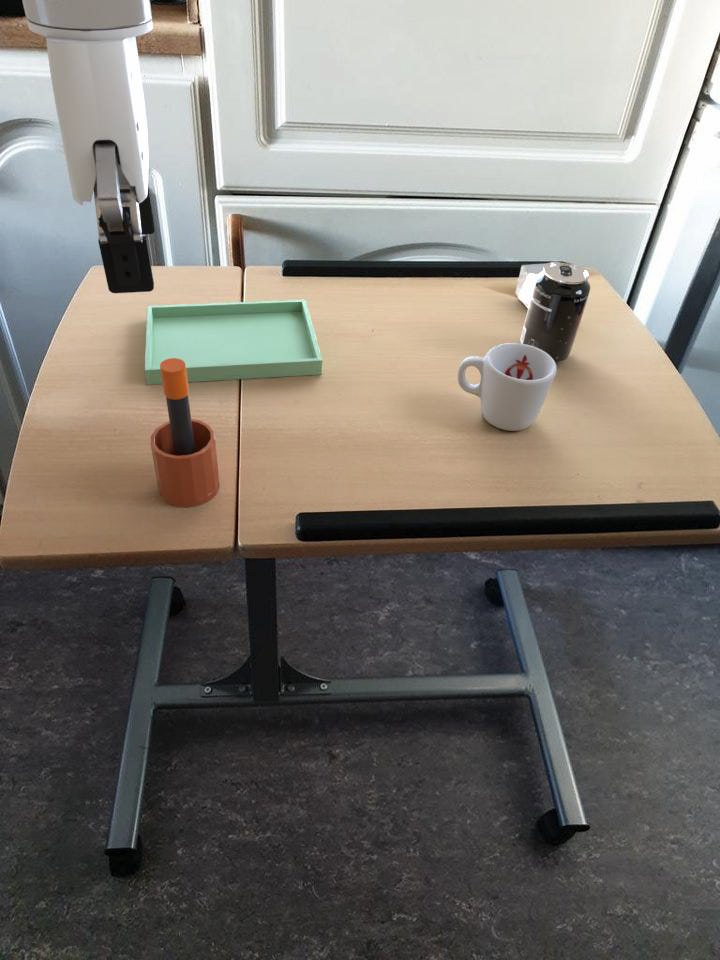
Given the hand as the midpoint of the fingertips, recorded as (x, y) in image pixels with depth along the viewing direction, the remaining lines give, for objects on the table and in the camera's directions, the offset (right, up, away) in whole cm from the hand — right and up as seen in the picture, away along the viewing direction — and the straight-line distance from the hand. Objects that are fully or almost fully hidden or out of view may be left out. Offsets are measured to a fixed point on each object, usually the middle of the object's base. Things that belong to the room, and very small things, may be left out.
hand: (134, 260), depth 55 cm
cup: (+34, -10, +29) cm, 46 cm away
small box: (+45, +9, +51) cm, 68 cm away
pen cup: (0, -18, +17) cm, 25 cm away
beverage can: (+42, 0, +40) cm, 58 cm away
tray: (+1, 0, +36) cm, 36 cm away
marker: (0, -17, +16) cm, 24 cm away
